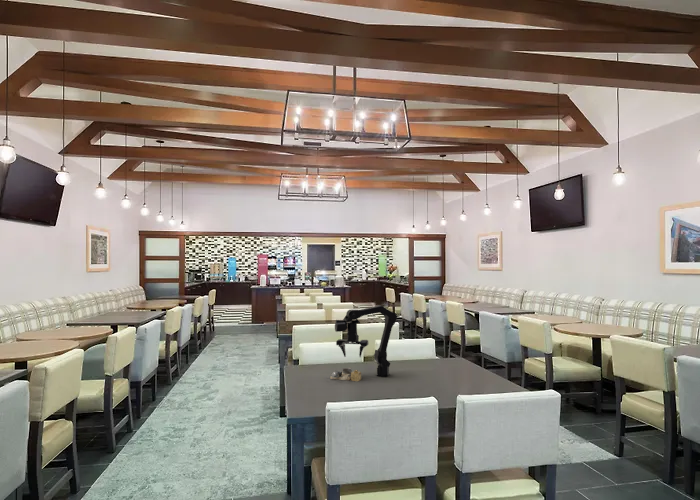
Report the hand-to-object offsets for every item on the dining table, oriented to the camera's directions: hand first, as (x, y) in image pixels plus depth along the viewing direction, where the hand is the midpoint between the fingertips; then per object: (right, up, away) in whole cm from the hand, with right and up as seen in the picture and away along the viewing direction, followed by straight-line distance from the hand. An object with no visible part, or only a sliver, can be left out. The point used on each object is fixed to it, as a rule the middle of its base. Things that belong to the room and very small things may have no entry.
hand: (352, 357), depth 257 cm
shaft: (-10, -11, -2) cm, 15 cm away
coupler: (+2, -12, -5) cm, 13 cm away
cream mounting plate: (-5, -13, +2) cm, 14 cm away
